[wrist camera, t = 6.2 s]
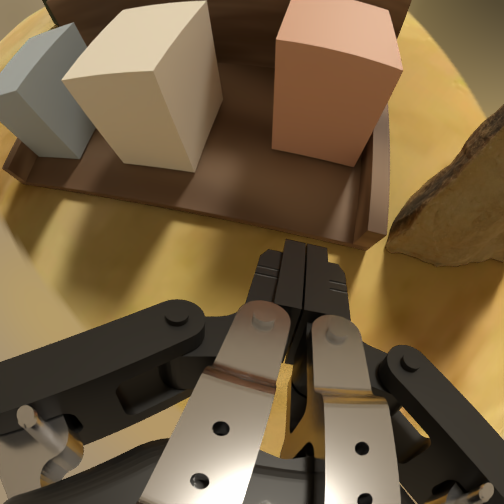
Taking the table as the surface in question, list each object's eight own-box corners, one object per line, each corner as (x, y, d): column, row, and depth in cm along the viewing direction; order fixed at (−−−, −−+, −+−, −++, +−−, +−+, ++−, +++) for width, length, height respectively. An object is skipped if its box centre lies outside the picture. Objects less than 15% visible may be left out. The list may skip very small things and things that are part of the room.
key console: (366, 250, 16) (473, 162, 6) (23, 184, 18) (-54, 124, 8) (373, 84, 19) (409, -15, 9) (94, 62, 21) (56, -8, 11)
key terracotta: (353, 167, 16) (402, 70, 8) (271, 148, 16) (275, 39, 9) (357, 99, 17) (388, 10, 10) (287, 83, 18) (295, -12, 10)
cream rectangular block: (194, 172, 16) (153, 70, 9) (123, 163, 17) (61, 80, 9) (223, 99, 18) (206, 0, 10) (157, 95, 18) (123, 9, 10)
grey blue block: (79, 159, 17) (16, 90, 9) (39, 156, 17) (-20, 101, 10) (114, 95, 18) (73, 22, 11) (72, 98, 19) (29, 38, 11)
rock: (535, 208, 14) (460, 110, 14) (599, 244, 6) (521, 94, 6) (454, 305, 19) (371, 223, 19) (486, 378, 11) (383, 274, 11)
